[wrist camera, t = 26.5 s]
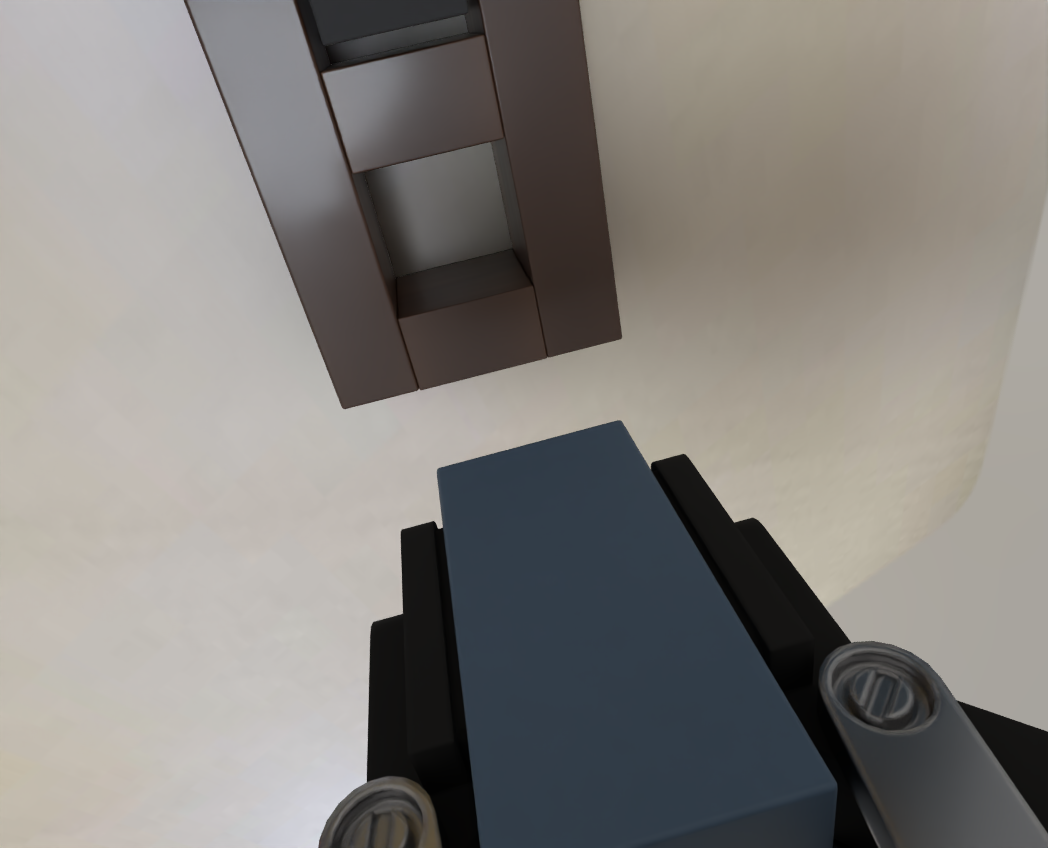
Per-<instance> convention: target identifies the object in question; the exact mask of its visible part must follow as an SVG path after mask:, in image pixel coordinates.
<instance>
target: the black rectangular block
mask: <svg viewBox="0 0 1048 848" xmlns="http://www.w3.org/2000/svg"><path fill="white" fill-rule="evenodd" d="M309 2H310V5H311V8H312V11H313V15H314V18H315V21H316V24H317V28H318V31H319V34H320V38H321V41H322V43H323V45H325V46H327V45H332V44H336V43H340V42H345V41H349V40H353V39H358V38H362V37H367V36H371V35H375V34H380V33H384V32H388V31H393V30H397V29H402V28H406V27H410V26H415V25H419V24H424V23H428V22H432V21H437V20H441V19H445V18H450V17H454V16H459V15H463V14H467V13H468V5H467V0H309Z"/></svg>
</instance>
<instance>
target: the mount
mask: <svg viewBox="0 0 1048 848" xmlns="http://www.w3.org/2000/svg"><path fill="white" fill-rule="evenodd" d="M184 2H185V5H186V8H187V10H188V13H189V15H190V18H191V20H192V23H193V26H194V28H195V31H196V33H197V36H198V38H199V41H200V44H201V46H202V49H203V51H204V54H205V56H206V59H207V62H208V64H209V67H210V69H211V72H212V74H213V77H214V80H215V82H216V85H217V87H218V90H219V92H220V95H221V98H222V100H223V103H224V105H225V108H226V110H227V113H228V116H229V118H230V121H231V123H232V126H233V128H234V131H235V134H236V136H237V139H238V141H239V144H240V146H241V149H242V152H243V154H244V157H245V159H246V162H247V164H248V167H249V170H250V172H251V175H252V177H253V180H254V182H255V185H256V188H257V190H258V193H259V195H260V198H261V200H262V203H263V206H264V208H265V211H266V213H267V216H268V218H269V221H270V224H271V226H272V229H273V231H274V234H275V236H276V239H277V242H278V244H279V247H280V249H281V252H282V254H283V257H284V260H285V262H286V265H287V267H288V270H289V272H290V275H291V278H292V280H293V283H294V285H295V288H296V290H297V293H298V296H299V298H300V301H301V303H302V306H303V308H304V311H305V314H306V316H307V319H308V321H309V324H310V326H311V329H312V332H313V334H314V337H315V339H316V342H317V344H318V347H319V350H320V352H321V355H322V357H323V360H324V362H325V365H326V368H327V370H328V373H329V375H330V378H331V380H332V383H333V386H334V388H335V391H336V393H337V396H338V398H339V401H340V404H341V406H342V408H343V409H347V408H351V407H355V406H359V405H363V404H367V403H371V402H375V401H379V400H383V399H387V398H390V397H394V396H398V395H402V394H406V393H410V392H414V391H417V390H419V389H420V390H424V389H428V388H432V387H436V386H440V385H443V384H447V383H451V382H455V381H459V380H463V379H467V378H471V377H475V376H479V375H483V374H487V373H490V372H494V371H498V370H502V369H506V368H510V367H514V366H518V365H522V364H526V363H530V362H534V361H537V360H541V359H545V358H547V356H548V357H553V356H556V355H560V354H564V353H568V352H572V351H576V350H580V349H584V348H588V347H592V346H596V345H600V344H603V343H607V342H611V341H615V340H619V339H622V332H621V324H620V316H619V309H618V301H617V293H616V285H615V278H614V270H613V262H612V254H611V246H610V239H609V231H608V223H607V215H606V207H605V200H604V192H603V184H602V176H601V168H600V161H599V153H598V145H597V137H596V129H595V122H594V114H593V106H592V98H591V91H590V83H589V75H588V67H587V59H586V52H585V44H584V36H583V28H582V20H581V13H580V5H579V0H467V5H468V13H467V14H465V18H466V23H467V27H468V32H469V33H464V34H460V35H455V36H451V37H446V38H442V39H438V40H433V41H429V42H425V43H420V44H416V45H412V46H407V47H403V48H399V49H394V50H390V51H386V52H381V53H377V54H373V55H368V56H364V57H360V58H355V59H351V60H347V61H342V62H338V63H334V64H330V61H329V57H328V54H327V51H326V48H325V45H323V43H322V41H321V38H320V34H319V31H318V28H317V24H316V21H315V18H314V15H313V11H312V8H311V5H310V2H309V0H184ZM488 142H491V144H492V149H493V154H494V159H495V164H496V169H497V173H498V178H499V183H500V188H501V193H502V198H503V203H504V208H505V212H506V217H507V222H508V227H509V232H510V237H511V242H512V246H513V249H510V250H506V251H502V252H498V253H494V254H490V255H486V256H482V257H478V258H474V259H470V260H466V261H462V262H458V263H454V264H450V265H446V266H442V267H437V268H433V269H429V270H425V271H421V272H417V273H413V274H409V275H405V276H401V277H397V278H396V277H395V274H394V271H393V267H392V264H391V261H390V258H389V254H388V251H387V248H386V244H385V241H384V238H383V235H382V231H381V228H380V225H379V221H378V218H377V215H376V212H375V208H374V205H373V202H372V199H371V195H370V192H369V189H368V185H367V182H366V179H365V176H364V172H366V171H370V170H374V169H379V168H383V167H387V166H391V165H395V164H400V163H404V162H408V161H412V160H416V159H421V158H425V157H429V156H433V155H437V154H442V153H446V152H450V151H454V150H458V149H463V148H467V147H471V146H475V145H479V144H483V143H488Z"/></svg>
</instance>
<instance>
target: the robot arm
mask: <svg viewBox="0 0 1048 848" xmlns="http://www.w3.org/2000/svg"><path fill="white" fill-rule="evenodd" d="M651 471H652V473H653V475H654V476H655V478H656V480H657V481H658V483H659V485H660V486H661V488H662V490H663V491H664V493H665V495H666V496H667V498H668V500H669V501H670V503H671V505H672V507H673V508H674V510H675V512H676V513H677V515H678V517H679V518H680V520H681V522H682V523H683V525H684V527H685V528H686V530H687V532H688V533H689V535H690V537H691V538H692V540H693V542H694V544H695V545H696V547H697V549H698V550H699V552H700V554H701V555H702V557H703V559H704V560H705V562H706V564H707V565H708V567H709V569H710V570H711V572H712V574H713V576H714V577H715V579H716V581H717V582H718V584H719V586H720V587H721V589H722V591H723V592H724V594H725V596H726V597H727V599H728V601H729V602H730V604H731V606H732V607H733V609H734V611H735V613H736V614H737V616H738V618H739V619H740V621H741V623H742V624H743V626H744V628H745V629H746V631H747V633H748V634H749V636H750V638H751V639H752V641H753V643H754V644H755V646H756V648H757V650H758V651H759V653H760V655H761V656H762V658H763V660H764V661H765V663H766V665H767V666H768V668H769V670H770V671H771V673H772V675H773V676H774V678H775V680H776V682H777V683H778V685H779V687H780V688H781V690H782V692H783V693H784V695H785V697H786V698H787V700H788V702H789V703H790V705H791V707H792V708H793V710H794V712H795V713H796V715H797V717H798V719H799V720H800V722H801V724H802V725H803V727H804V729H805V730H806V732H807V734H808V735H809V737H810V739H811V740H812V742H813V744H814V745H815V747H816V749H817V750H818V752H819V754H820V756H821V757H822V759H823V761H824V762H825V764H826V766H827V767H828V769H829V771H830V772H831V774H832V776H833V777H834V779H835V781H836V782H837V788H838V790H837V802H836V813H835V825H834V837H833V848H1048V732H1047V731H1044V730H1041V729H1038V728H1035V727H1033V726H1030V725H1026V724H1024V723H1021V722H1018V721H1015V720H1012V719H1009V718H1006V717H1004V716H1001V715H998V714H995V713H992V712H989V711H986V710H983V709H980V708H977V707H974V706H971V705H969V704H965V703H963V702H960V701H957V700H956V699H955V698H954V697H953V695H952V693H951V692H950V690H949V689H948V687H947V686H946V685H945V683H944V682H943V680H942V679H941V678H940V676H939V675H938V674H937V673H936V672H935V671H934V670H933V669H932V668H931V667H930V665H929V664H928V663H926V662H925V661H923V660H922V659H920V658H919V657H917V656H916V655H914V654H913V653H911V652H909V651H907V650H904V649H902V648H899V647H897V646H894V645H891V644H885V643H880V642H875V641H865V642H853V643H851V642H850V640H849V639H848V637H847V636H846V635H845V634H844V632H843V631H842V629H841V628H840V627H839V625H838V624H837V623H836V622H835V621H834V619H833V618H832V616H831V615H830V614H829V612H828V611H827V610H826V608H825V607H824V606H823V604H822V603H821V602H820V600H819V599H818V598H817V596H816V595H815V594H814V592H813V591H812V590H811V588H810V587H809V586H808V584H807V583H806V582H805V580H804V579H803V578H802V576H801V575H800V574H799V572H798V571H797V570H796V568H795V567H794V566H793V564H792V563H791V562H790V561H789V559H788V558H787V557H786V555H785V554H784V553H783V551H782V550H781V549H780V547H779V546H778V545H777V543H776V542H775V541H774V539H773V538H772V537H771V535H770V534H769V533H768V531H767V530H766V529H765V527H764V526H763V525H762V524H761V523H760V522H759V521H758V520H757V519H755V518H750V519H746V520H743V521H739V522H735V523H734V522H733V521H732V519H731V518H730V516H729V515H728V513H727V512H726V511H725V509H724V508H723V506H722V505H721V503H720V502H719V501H718V499H717V498H716V496H715V495H714V493H713V492H712V491H711V489H710V488H709V486H708V485H707V483H706V482H705V481H704V479H703V478H702V476H701V475H700V473H699V472H698V471H697V469H696V468H695V466H694V465H693V463H692V462H691V461H690V459H689V458H688V457H687V456H686V455H685V454H681V455H678V456H674V457H670V458H666V459H663V460H659V461H655V462H652V464H651ZM401 560H402V593H403V614H401V615H397V616H394V617H390V618H386V619H383V620H379V621H376V622H373V624H372V626H371V634H370V672H369V714H368V755H367V783H365V784H364V785H362V786H360V787H358V788H356V789H355V790H353V791H352V792H351V793H350V794H349V795H348V796H347V797H346V798H345V799H343V800H342V801H341V802H340V803H339V804H338V806H337V807H336V809H335V810H334V811H333V813H332V814H331V816H330V817H329V819H328V820H327V822H326V825H325V827H324V830H323V832H322V835H321V837H320V840H319V848H480V841H479V833H478V824H477V815H476V807H475V798H474V790H473V781H472V772H471V764H470V755H469V747H468V738H467V729H466V721H465V712H464V703H463V695H462V686H461V678H460V669H459V660H458V652H457V643H456V635H455V626H454V617H453V609H452V600H451V591H450V583H449V574H448V566H447V557H446V548H445V540H444V531H443V528H441V529H438V528H437V525H436V523H435V522H434V521H432V522H429V523H425V524H421V525H418V526H414V527H410V528H406V529H403V530H401Z"/></svg>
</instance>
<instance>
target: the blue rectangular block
mask: <svg viewBox="0 0 1048 848" xmlns="http://www.w3.org/2000/svg"><path fill="white" fill-rule="evenodd" d="M437 479H438V488H439V497H440V505H441V514H442V523H443V531H444V540H445V548H446V557H447V566H448V574H449V583H450V591H451V600H452V609H453V617H454V626H455V635H456V643H457V652H458V660H459V669H460V678H461V686H462V695H463V703H464V712H465V721H466V729H467V738H468V747H469V755H470V764H471V772H472V781H473V790H474V798H475V807H476V815H477V824H478V833H479V841H480V848H833V837H834V825H835V813H836V802H837V790H838V788H837V782H836V781H835V779H834V777H833V776H832V774H831V772H830V771H829V769H828V767H827V766H826V764H825V762H824V761H823V759H822V757H821V756H820V754H819V752H818V750H817V749H816V747H815V745H814V744H813V742H812V740H811V739H810V737H809V735H808V734H807V732H806V730H805V729H804V727H803V725H802V724H801V722H800V720H799V719H798V717H797V715H796V713H795V712H794V710H793V708H792V707H791V705H790V703H789V702H788V700H787V698H786V697H785V695H784V693H783V692H782V690H781V688H780V687H779V685H778V683H777V682H776V680H775V678H774V676H773V675H772V673H771V671H770V670H769V668H768V666H767V665H766V663H765V661H764V660H763V658H762V656H761V655H760V653H759V651H758V650H757V648H756V646H755V644H754V643H753V641H752V639H751V638H750V636H749V634H748V633H747V631H746V629H745V628H744V626H743V624H742V623H741V621H740V619H739V618H738V616H737V614H736V613H735V611H734V609H733V607H732V606H731V604H730V602H729V601H728V599H727V597H726V596H725V594H724V592H723V591H722V589H721V587H720V586H719V584H718V582H717V581H716V579H715V577H714V576H713V574H712V572H711V570H710V569H709V567H708V565H707V564H706V562H705V560H704V559H703V557H702V555H701V554H700V552H699V550H698V549H697V547H696V545H695V544H694V542H693V540H692V538H691V537H690V535H689V533H688V532H687V530H686V528H685V527H684V525H683V523H682V522H681V520H680V518H679V517H678V515H677V513H676V512H675V510H674V508H673V507H672V505H671V503H670V501H669V500H668V498H667V496H666V495H665V493H664V491H663V490H662V488H661V486H660V485H659V483H658V481H657V480H656V478H655V476H654V475H653V473H652V471H651V470H650V468H649V466H648V464H647V463H646V461H645V459H644V458H643V456H642V454H641V453H640V451H639V449H638V448H637V446H636V444H635V443H634V441H633V439H632V438H631V436H630V434H629V433H628V431H627V429H626V427H625V426H624V424H623V423H622V421H620V420H617V421H614V422H610V423H606V424H602V425H599V426H595V427H591V428H587V429H584V430H580V431H576V432H572V433H569V434H565V435H561V436H557V437H554V438H550V439H546V440H542V441H539V442H535V443H531V444H527V445H524V446H520V447H516V448H512V449H509V450H505V451H501V452H497V453H494V454H490V455H486V456H482V457H479V458H475V459H471V460H467V461H464V462H460V463H456V464H452V465H449V466H445V467H441V468H439V469H438V470H437Z"/></svg>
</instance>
